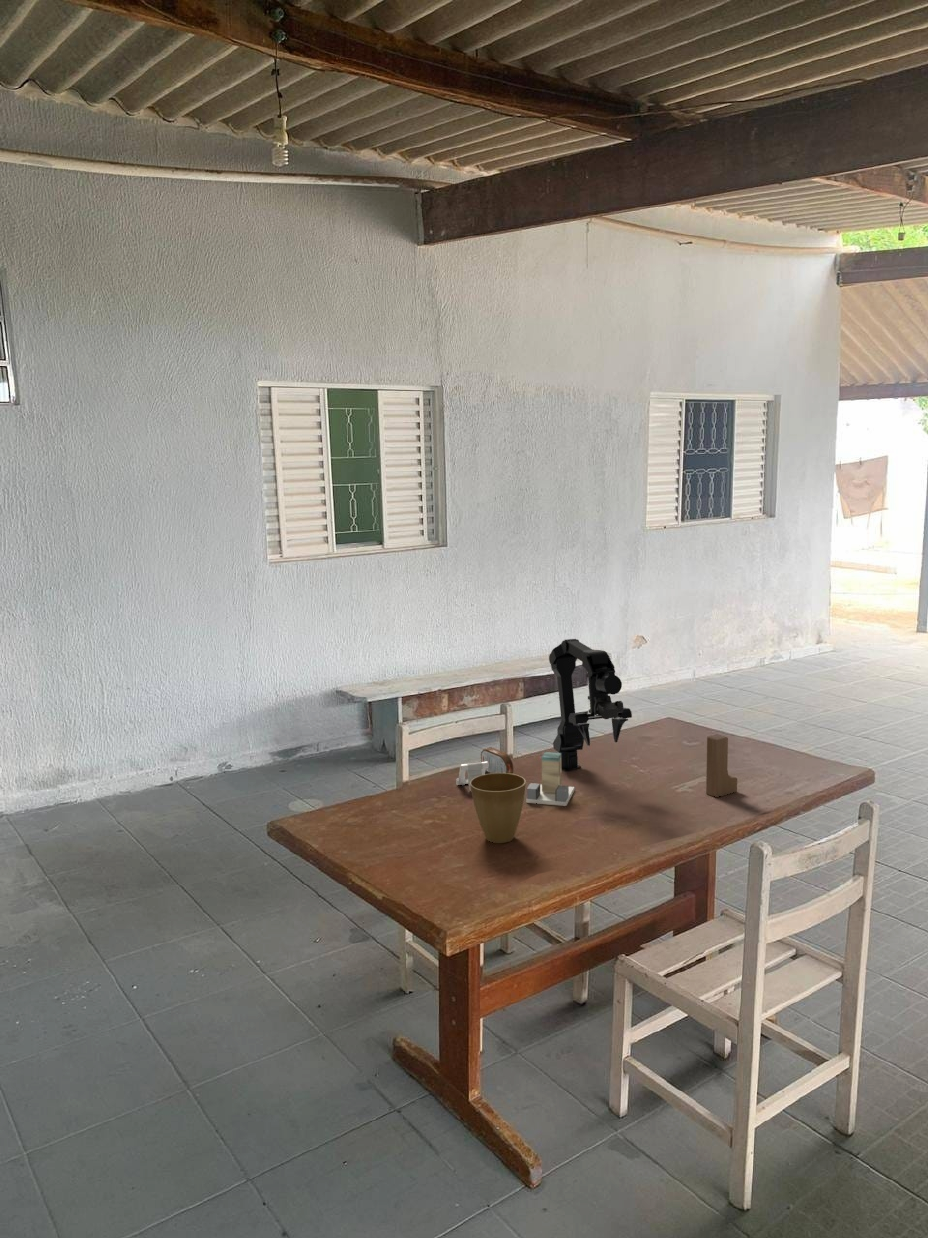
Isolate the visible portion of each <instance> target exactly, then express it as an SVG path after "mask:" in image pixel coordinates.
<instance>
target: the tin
mask: <svg viewBox="0 0 928 1238" xmlns="http://www.w3.org/2000/svg"><path fill="white" fill-rule="evenodd" d="M486 761H487V762H488V764H489V767H488V768H486V770H485V773H487V774H490V773H510V774H514V763H513V761H512V758H511V757H510V756H509V754H508V753H506V752H504V751H502V750H499V749H496V748H494V747H492V746H490V747H487V748H484V749H483V750H482V751H480V762H486Z"/></svg>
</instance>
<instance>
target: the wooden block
mask: <svg viewBox="0 0 928 1238" xmlns="http://www.w3.org/2000/svg"><path fill="white" fill-rule="evenodd" d="M728 748H729V737H728V736H725V735H721V734H718V733H716V734H712V735H709V736H707V737H706V771H705V772H706V774H705V775H706V776H705V777H706V778H705V779H706V781H705V782H706V784H705V786H706V787H705V794H706V795H708V796H711V797H714V796H715V797H714V798H717V797H718V798H720V797H719V796H721V797H724V796H727V794H728V795H731V794H734V793H737V792H738V777H735V776H733V775H729V771H728V770H729V769H728V761H729V760H728V759H729V757H728V754H729V749H728ZM736 791H737V792H736ZM733 792H734V793H733ZM730 793H731V794H730Z"/></svg>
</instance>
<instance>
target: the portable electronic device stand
mask: <svg viewBox="0 0 928 1238" xmlns="http://www.w3.org/2000/svg"><path fill="white" fill-rule="evenodd" d="M488 767H489V764H488V762H487V761H486V762H481V761H479V762H472V763H463V764H460V766H459V774H458V778H456V779H455V782H456V783H455V784H456V786H457V785H462V786H466V785H465V784H468V788H469V789H468V790H469V792H470V791H471V787H470V781H471V780H472V779H473V778H475V777H477V776H480V775H484V774H486V771H485V770H486V768H488ZM466 775H467V777H466Z"/></svg>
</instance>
